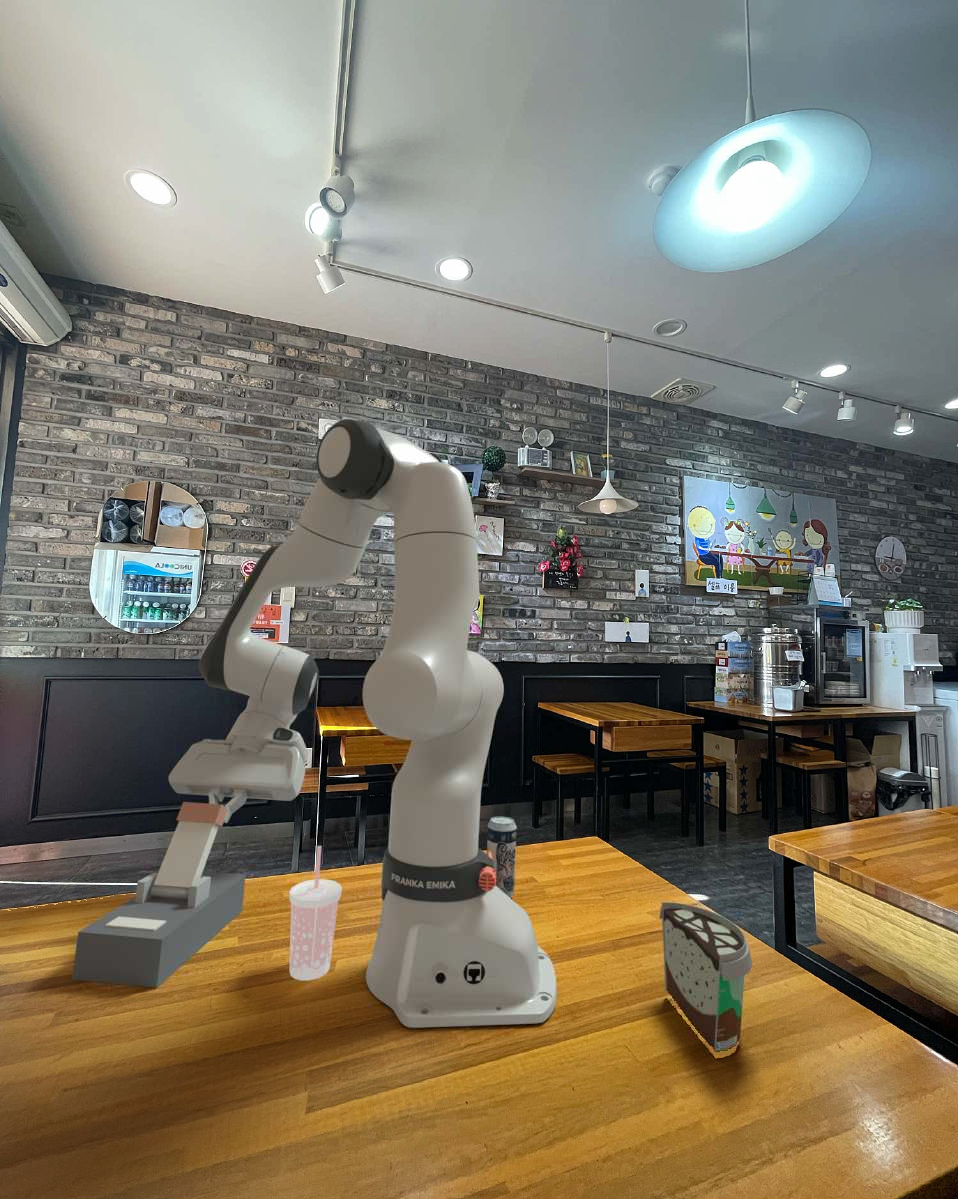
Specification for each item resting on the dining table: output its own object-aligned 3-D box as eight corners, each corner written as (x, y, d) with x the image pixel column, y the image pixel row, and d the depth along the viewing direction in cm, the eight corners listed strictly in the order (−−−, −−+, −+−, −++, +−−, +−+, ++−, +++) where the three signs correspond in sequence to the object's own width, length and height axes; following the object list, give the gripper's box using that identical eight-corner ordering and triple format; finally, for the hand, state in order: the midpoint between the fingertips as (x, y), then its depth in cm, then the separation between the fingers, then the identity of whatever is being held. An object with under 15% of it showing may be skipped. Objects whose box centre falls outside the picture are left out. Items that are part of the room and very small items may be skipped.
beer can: (503, 908, 80) (506, 826, 81) (478, 898, 83) (481, 820, 84) (519, 897, 84) (522, 820, 85) (495, 888, 86) (498, 814, 88)
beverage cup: (335, 951, 66) (343, 836, 67) (337, 980, 60) (346, 853, 62) (283, 958, 64) (294, 839, 66) (281, 988, 58) (292, 857, 60)
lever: (195, 900, 67) (228, 809, 74) (187, 898, 66) (221, 804, 73) (155, 897, 68) (191, 806, 75) (145, 894, 66) (183, 802, 73)
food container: (783, 1066, 50) (780, 955, 51) (725, 1071, 49) (723, 958, 50) (706, 987, 62) (706, 898, 63) (659, 990, 61) (659, 900, 62)
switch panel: (242, 911, 75) (247, 856, 76) (156, 988, 57) (164, 915, 58) (176, 905, 76) (182, 851, 77) (72, 979, 58) (81, 908, 59)
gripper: (189, 727, 86) (139, 804, 75) (309, 733, 84) (276, 813, 73) (202, 750, 90) (157, 826, 79) (317, 757, 88) (287, 836, 77)
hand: (215, 820), depth 76 cm, fingers closed
